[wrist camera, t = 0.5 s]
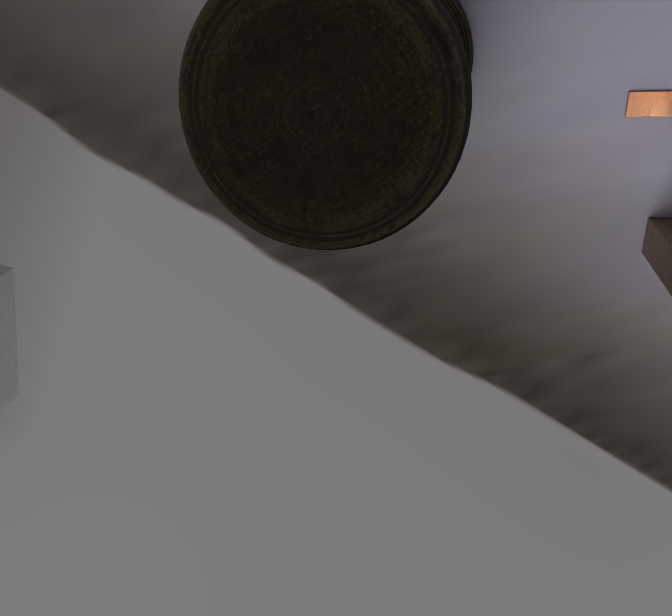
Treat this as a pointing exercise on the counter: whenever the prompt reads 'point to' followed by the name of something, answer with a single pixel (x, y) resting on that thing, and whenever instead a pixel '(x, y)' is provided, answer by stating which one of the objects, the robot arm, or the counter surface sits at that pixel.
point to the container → (327, 112)
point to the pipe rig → (661, 234)
